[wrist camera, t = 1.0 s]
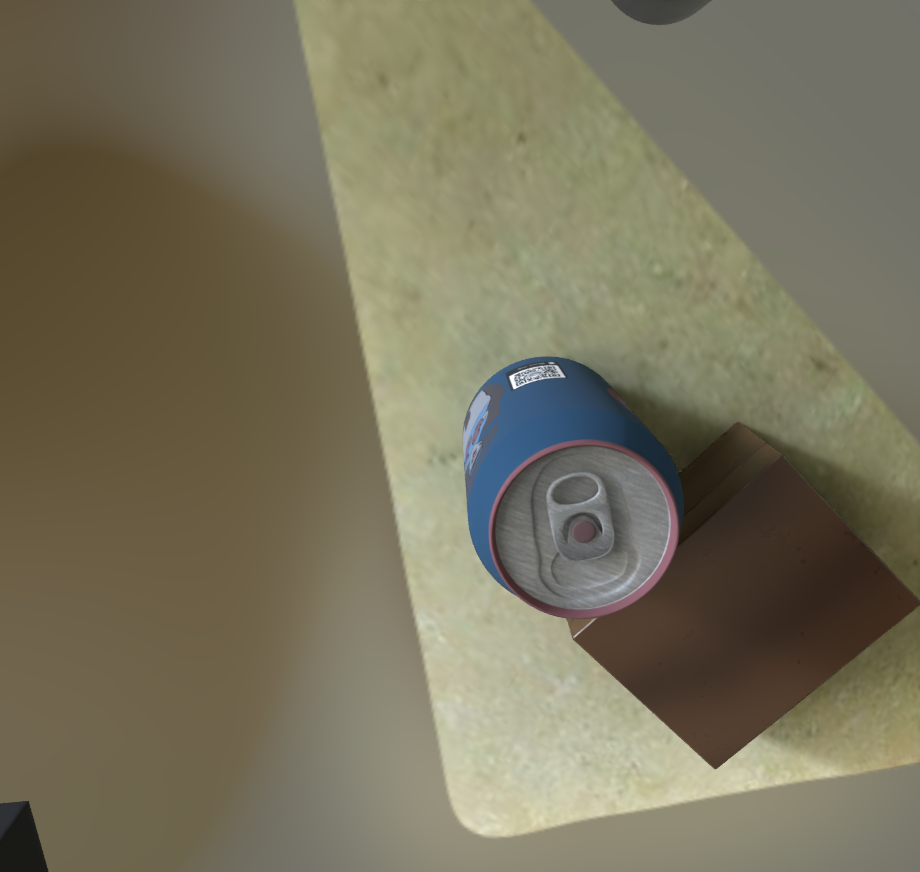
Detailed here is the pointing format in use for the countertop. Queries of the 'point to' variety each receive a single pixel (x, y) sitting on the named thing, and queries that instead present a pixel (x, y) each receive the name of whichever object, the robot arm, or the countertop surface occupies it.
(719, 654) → the walnut wood chunk
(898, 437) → the countertop surface
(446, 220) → the countertop surface
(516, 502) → the soda can
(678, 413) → the countertop surface
